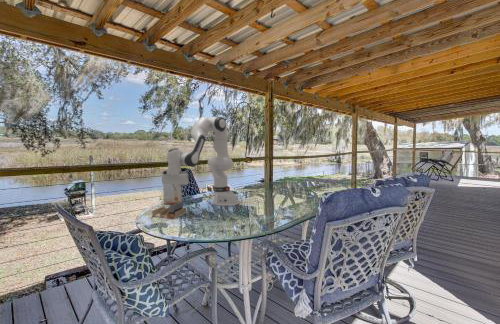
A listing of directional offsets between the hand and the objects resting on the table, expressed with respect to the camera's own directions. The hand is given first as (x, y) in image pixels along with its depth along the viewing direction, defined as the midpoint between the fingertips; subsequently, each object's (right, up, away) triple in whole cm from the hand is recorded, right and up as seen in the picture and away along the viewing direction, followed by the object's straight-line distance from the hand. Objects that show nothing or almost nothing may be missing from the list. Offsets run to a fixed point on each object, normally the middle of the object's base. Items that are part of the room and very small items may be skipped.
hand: (175, 190), depth 200 cm
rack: (-5, -18, +3) cm, 19 cm away
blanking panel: (0, -17, +2) cm, 17 cm away
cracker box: (-12, -15, +37) cm, 41 cm away
